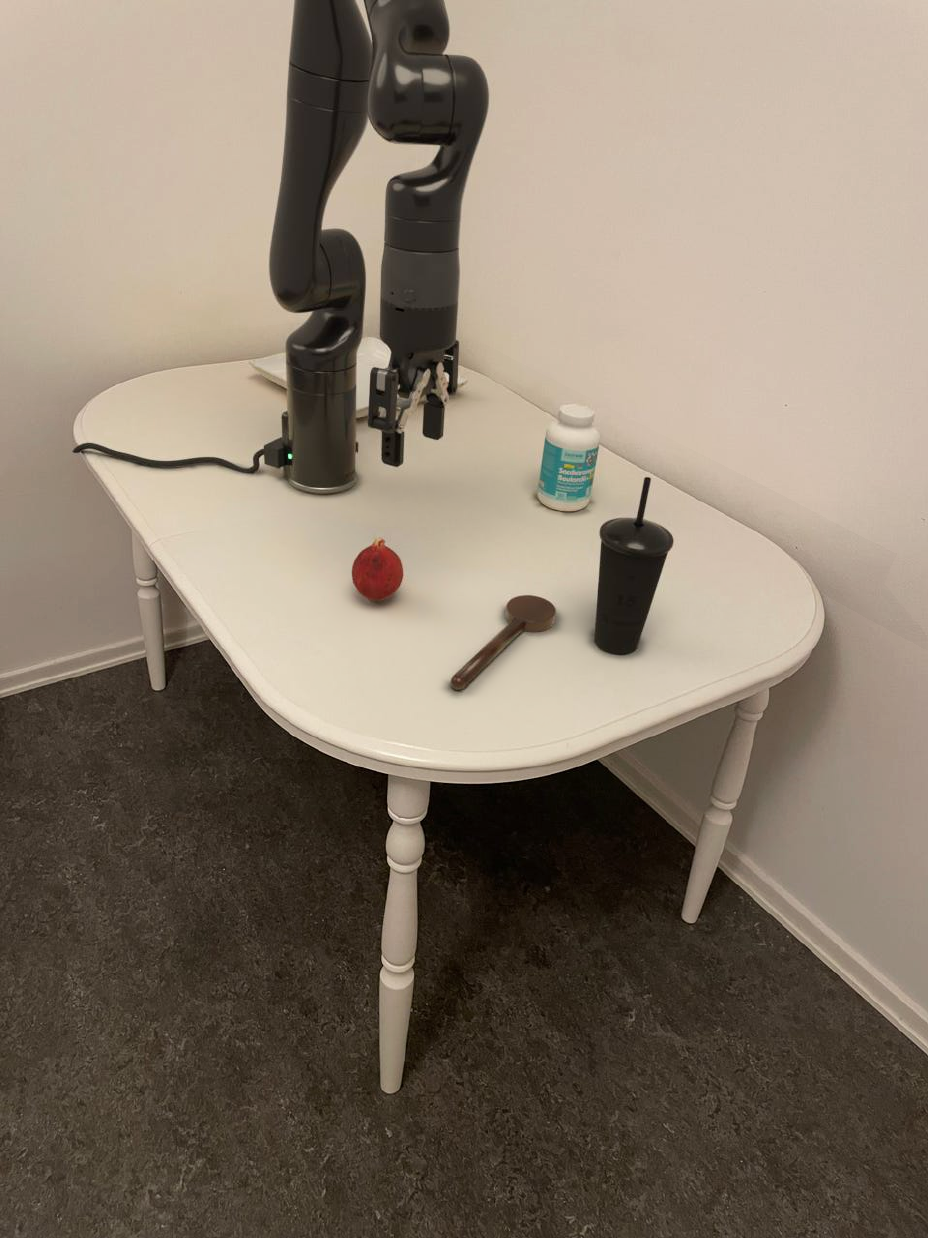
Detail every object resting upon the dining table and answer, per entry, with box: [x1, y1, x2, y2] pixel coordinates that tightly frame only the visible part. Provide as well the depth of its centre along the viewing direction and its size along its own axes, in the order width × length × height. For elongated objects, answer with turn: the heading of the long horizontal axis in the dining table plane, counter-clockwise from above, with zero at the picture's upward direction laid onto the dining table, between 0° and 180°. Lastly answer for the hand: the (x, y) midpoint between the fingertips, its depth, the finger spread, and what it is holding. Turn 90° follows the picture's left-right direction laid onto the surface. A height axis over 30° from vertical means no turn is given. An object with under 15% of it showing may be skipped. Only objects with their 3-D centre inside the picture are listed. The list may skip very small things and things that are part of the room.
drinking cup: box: [593, 476, 675, 656], centre depth 101 cm, size 8×8×20 cm
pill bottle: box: [536, 403, 601, 512], centre depth 131 cm, size 8×7×14 cm
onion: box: [351, 537, 404, 602], centre depth 108 cm, size 6×6×8 cm
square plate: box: [248, 336, 469, 419], centre depth 164 cm, size 27×27×4 cm
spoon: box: [450, 594, 557, 691], centre depth 104 cm, size 6×20×2 cm, turn 149°
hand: (412, 450), depth 101 cm, fingers open, 8 cm apart
